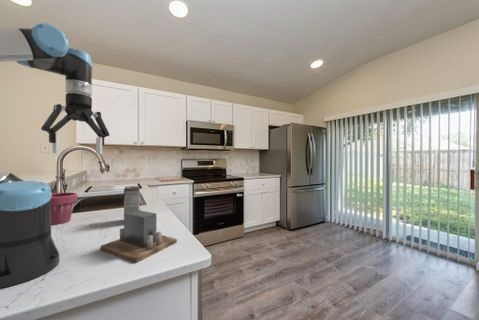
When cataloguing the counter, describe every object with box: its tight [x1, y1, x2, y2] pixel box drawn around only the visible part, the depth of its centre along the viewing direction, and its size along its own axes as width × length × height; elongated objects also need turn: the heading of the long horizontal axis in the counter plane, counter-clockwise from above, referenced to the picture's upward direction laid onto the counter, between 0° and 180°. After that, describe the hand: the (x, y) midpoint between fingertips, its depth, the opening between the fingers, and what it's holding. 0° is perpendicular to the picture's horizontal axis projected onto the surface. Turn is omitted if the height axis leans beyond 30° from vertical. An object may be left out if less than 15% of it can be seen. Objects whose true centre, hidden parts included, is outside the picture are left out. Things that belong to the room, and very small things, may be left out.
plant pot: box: [51, 192, 78, 226], centre depth 94 cm, size 14×14×13 cm
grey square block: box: [123, 209, 157, 248], centre depth 70 cm, size 5×10×10 cm, turn 63°
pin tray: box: [99, 227, 178, 264], centre depth 70 cm, size 16×18×5 cm
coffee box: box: [123, 185, 141, 214], centre depth 96 cm, size 9×6×16 cm
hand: (79, 153), depth 74 cm, fingers open, 13 cm apart
